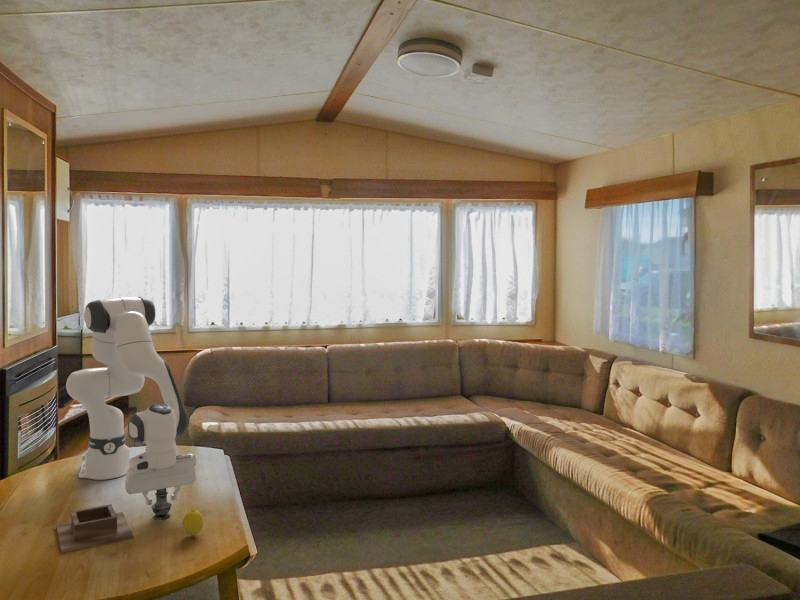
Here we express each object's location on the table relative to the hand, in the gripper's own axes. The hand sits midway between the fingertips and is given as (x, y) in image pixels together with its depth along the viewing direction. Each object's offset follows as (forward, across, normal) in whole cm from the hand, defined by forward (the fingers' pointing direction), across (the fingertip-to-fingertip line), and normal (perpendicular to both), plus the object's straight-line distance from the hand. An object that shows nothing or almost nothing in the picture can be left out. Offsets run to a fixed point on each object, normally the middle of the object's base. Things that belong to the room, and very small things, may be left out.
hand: (161, 502), depth 193 cm
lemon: (+5, -5, +18) cm, 19 cm away
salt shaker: (+5, 0, 0) cm, 5 cm away
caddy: (+5, +19, +2) cm, 20 cm away
